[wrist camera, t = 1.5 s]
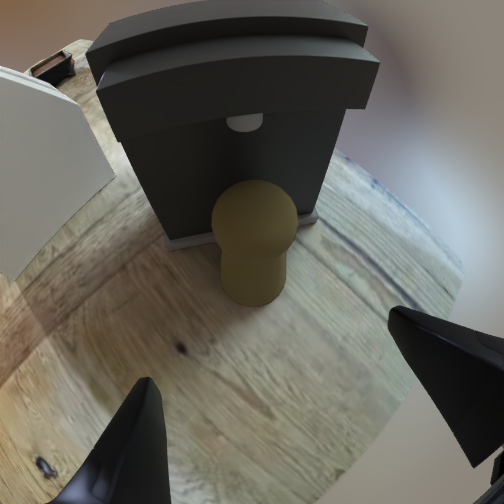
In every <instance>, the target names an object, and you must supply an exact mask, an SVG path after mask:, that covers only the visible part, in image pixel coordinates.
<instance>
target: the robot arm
mask: <svg viewBox="0 0 504 504" xmlns="http://www.w3.org/2000/svg"><path fill="white" fill-rule="evenodd" d="M388 330H389V332H390V334H391V335H392V337H393V339H394V341H395V342H396V344H397V346H398V348H399V350H400V352H401V353H402V355H403V357H404V359H405V360H406V362H407V363H408V365H409V366H410V368H411V369H412V370H413V372H414V373H415V375H416V376H417V378H418V379H419V380H420V382H421V384H422V385H423V387H424V388H425V390H426V391H427V392H428V394H429V396H430V397H431V399H432V400H433V402H434V403H435V405H436V407H437V408H438V410H439V411H440V413H441V414H442V416H443V418H444V419H445V421H446V422H447V424H448V426H449V427H450V429H451V431H452V432H453V434H454V436H455V437H456V439H457V441H458V443H459V444H460V446H461V448H462V450H463V451H464V453H465V455H466V456H467V458H468V460H469V462H470V463H471V466H472V467H473V468H475V467H477V466H478V465H479V464H481V463H482V462H483V461H484V460H485V459H487V458H488V457H489V456H490V455H491V454H493V453H494V452H495V451H496V450H497V449H498V448H499V447H500V446H502V447H503V449H504V338H500V337H495V336H492V335H488V334H485V333H482V332H479V331H476V330H475V331H474V330H472V329H470V328H466V327H464V326H461V325H457V324H454V323H452V322H449V321H446V320H443V319H440V318H437V317H434V316H431V315H428V314H425V313H422V312H419V311H416V310H413V309H410V308H407V307H404V306H400V305H399V306H396V307H394V308H391V310H390V312H389V318H388ZM490 483H491V485H492V486H491V487H490V489H488V491H486V492H485V493H484V494H483V495H482V496H481V497H480V498H479V499H478V500H476V501H475V502H474V503H473V504H504V450H503V451H502V452H501V453H500V454H499V455H498V456H497V457H496V458H495V460H494V467H493V472H492V477H491V482H490ZM45 504H171V495H170V485H169V473H168V458H167V437H166V427H165V420H164V413H163V406H162V398H161V393H160V391H159V389H158V387H157V386H156V384H155V383H154V381H153V380H152V378H151V377H143V378H139V379H138V381H137V382H136V384H135V385H134V387H133V388H132V390H131V391H130V393H129V394H128V396H127V397H126V399H125V400H124V402H123V403H122V405H121V406H120V408H119V409H118V411H117V412H116V414H115V415H114V417H113V418H112V420H111V421H110V423H109V424H108V426H107V427H106V429H105V430H104V432H103V434H102V435H101V437H100V438H99V440H98V441H97V443H96V444H95V446H94V449H92V450H91V452H90V454H89V455H88V457H87V458H86V460H85V461H84V463H83V464H82V466H81V467H80V468H79V470H78V471H77V472H76V473H75V475H74V476H73V477H72V479H71V480H70V481H69V482H68V484H67V485H66V486H65V487H64V488H63V490H62V491H61V492H60V493H59V495H58V496H57V497H56V498H54V499H53V500H52V501H50V502H48V503H45Z"/></svg>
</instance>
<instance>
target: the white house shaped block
mask: <svg viewBox="0 0 504 504" xmlns="http://www.w3.org/2000/svg"><path fill="white" fill-rule="evenodd" d="M115 177H116V175H115V173H114V171H113V169H112V168H111V166H110V164H109V162H108V160H107V158H106V157H105V155H104V153H103V151H102V149H101V147H100V145H99V143H98V141H97V139H96V137H95V136H94V134H93V132H92V130H91V128H90V126H89V124H88V122H87V119H86V117H85V115H84V113H83V111H82V109H81V107H80V105H78V104H77V103H76V102H74V101H73V100H71V99H70V98H69V97H67V96H66V95H64V94H63V93H62V92H60V91H59V90H57V89H56V88H55V87H53V86H52V85H50V84H49V83H47V82H44V81H42V80H39V79H36V78H34V77H31V76H28V75H26V74H23V73H20V72H17V71H14V70H11V69H8V68H5V67H2V66H0V273H2V274H4V275H5V276H7V277H9V278H10V279H12V280H14V281H16V279H17V278H18V277H19V276H20V274H21V273H22V272H23V271H24V269H25V268H26V267H27V266H28V264H29V263H30V262H31V261H32V260H33V258H34V257H35V256H36V255H37V254H38V252H39V251H40V250H41V249H42V248H43V247H44V246H45V244H46V243H47V242H48V241H49V240H50V239H51V238H52V237H53V236H54V235H55V234H56V233H57V231H58V230H59V229H60V228H61V227H62V226H63V225H64V224H65V223H66V222H67V221H68V220H69V219H70V218H71V217H72V216H73V215H74V214H75V213H76V212H77V211H78V210H79V209H80V208H81V207H82V206H83V205H84V204H86V203H87V202H88V201H89V200H90V199H91V198H92V197H93V196H94V195H95V194H96V193H97V192H99V191H100V190H101V189H102V188H103V187H104V186H105V185H107V184H108V183H109V182H110V181H111V180H112V179H114V178H115Z"/></svg>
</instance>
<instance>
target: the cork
mask: <svg viewBox="0 0 504 504" xmlns="http://www.w3.org/2000/svg"><path fill="white" fill-rule="evenodd" d="M211 226H212V230H213V233H214V236H215V239H216V242H217V243H218V244H219V246H220V247H221V248H222V254H221V265H220V282H221V285H222V288H223V290H224V291H225V293H226V294H227V295H228V297H229V298H230V299H232V300H233V301H235V302H236V303H238V304H241V305H244V306H248V307H255V306H262V305H265V304H268V303H270V302H271V301H273V300H274V299H275V298H276V297H278V296H279V294H280V293H281V291H282V290H283V288H284V284H285V281H286V251H287V250H288V248H289V247H290V245H291V244H292V242H293V241H294V239H295V236H296V232H297V228H298V217H297V210H296V207H295V205H294V203H293V201H292V199H291V197H290V196H289V195H288V194H287V193H286V192H284V191H283V190H282V189H281V188H280V187H279V186H277V185H275V184H273V183H271V182H267V181H263V180H246V181H242V182H239V183H236V184H235V185H233V186H231V187H229V188H228V189H227V190H225V192H224V193H223V194H222V195H221V196H220V197H219V198H218V199H217V201H216V204H215V206H214V208H213V212H212V223H211Z"/></svg>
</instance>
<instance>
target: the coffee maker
mask: <svg viewBox="0 0 504 504" xmlns="http://www.w3.org/2000/svg"><path fill="white" fill-rule="evenodd" d="M367 31H368V25H366V24H364V23H363V22H361V21H359V20H358V19H356V18H354V17H352V16H351V15H349V14H347V13H345V12H343V11H341V10H340V9H338V8H336V7H334V6H332V5H330V4H328V3H326V2H324V1H321V0H206V1H199V2H192V3H186V4H181V5H175V6H170V7H165V8H161V9H156V10H152V11H148V12H145V13H141V14H138V15H134V16H131V17H127V18H124V19H121V20H118V21H115V22H112V23H110V24H109V25H108V26H107V27H106V28H105V29H104V31H103V32H102V33H101V34H100V35H99V37H98V38H97V39H96V40H95V41H94V43H93V44H92V45H91V46H90V48H89V49H88V50H87V52H86V53H85V55H86V58H87V61H88V63H89V66H90V69H91V72H92V74H93V77H94V80H95V82H96V85H97V89H96V93H97V96H98V98H99V101H100V103H101V105H102V108H103V110H104V112H105V115H106V117H107V119H108V122H109V124H110V126H111V129H112V131H113V133H114V135H115V137H116V140H117V142H121V144H122V146H123V149H124V151H125V153H126V155H127V157H128V159H129V161H130V164H131V166H132V168H133V170H134V172H135V174H136V176H137V178H138V180H139V182H140V184H141V186H142V188H143V190H144V192H145V194H146V196H147V198H148V200H149V202H150V204H151V206H152V208H153V210H154V212H155V214H156V216H157V218H158V220H159V221H160V223H161V225H162V227H163V229H164V240H165V247H166V248H167V250H168V251H172V250H177V249H182V248H187V247H192V246H197V245H201V244H206V243H211V242H216V239H215V236H214V233H213V230H212V226H211V223H212V212H213V208H214V206H215V204H216V201H217V199H218V198H219V197H220V196H221V195H222V194H223V193H224V192H225V190H227V189H228V188H229V187H231V186H233V185H235V184H236V183H239V182H242V181H246V180H263V181H267V182H271V183H273V184H275V185H277V186H279V187H280V188H281V189H282V190H283V191H284V192H286V193H287V194H288V195H289V196H290V197H291V199H292V201H293V203H294V205H295V207H296V210H297V217H298V226H299V225H305V224H310V223H315V222H317V219H318V217H319V216H318V214H317V211H316V208H315V204H316V201H317V198H318V195H319V192H320V189H321V186H322V184H323V181H324V178H325V175H326V172H327V169H328V166H329V163H330V159H331V156H332V153H333V150H334V147H335V144H336V141H337V137H338V134H339V131H340V127H341V125H342V121H343V118H344V115H345V111H346V109H365V108H366V105H367V102H368V99H369V96H370V93H371V90H372V87H373V84H374V81H375V78H376V75H377V72H378V68H379V65H380V62H379V61H378V60H377V59H376V58H375V57H373V56H372V55H371V54H370V53H368V52H367V51H366V50H364V49H363V46H364V43H365V39H366V35H367Z"/></svg>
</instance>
